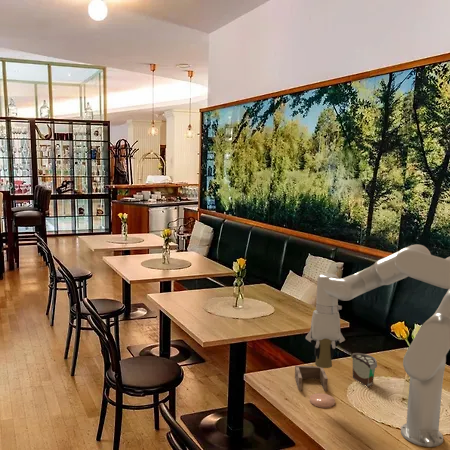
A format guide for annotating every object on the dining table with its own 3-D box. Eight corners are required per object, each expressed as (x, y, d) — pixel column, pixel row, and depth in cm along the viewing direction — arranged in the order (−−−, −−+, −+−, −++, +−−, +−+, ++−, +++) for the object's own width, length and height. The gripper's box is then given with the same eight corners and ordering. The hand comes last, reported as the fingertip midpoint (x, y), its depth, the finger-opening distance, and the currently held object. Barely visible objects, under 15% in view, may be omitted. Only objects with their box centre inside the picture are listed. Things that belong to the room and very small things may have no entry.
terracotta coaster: (337, 408, 170) (337, 405, 170) (311, 407, 170) (311, 404, 170) (331, 396, 179) (332, 393, 179) (307, 395, 179) (308, 392, 179)
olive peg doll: (335, 367, 171) (336, 337, 169) (319, 368, 169) (321, 338, 168) (327, 360, 176) (328, 331, 175) (312, 362, 175) (313, 333, 173)
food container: (382, 386, 187) (384, 362, 186) (369, 389, 185) (371, 364, 184) (362, 374, 199) (364, 351, 197) (350, 376, 196) (351, 352, 195)
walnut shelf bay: (327, 391, 183) (327, 378, 182) (298, 390, 183) (299, 377, 182) (321, 378, 194) (322, 366, 193) (294, 377, 194) (295, 365, 193)
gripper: (347, 306, 174) (344, 354, 176) (301, 304, 174) (299, 352, 176) (352, 312, 166) (349, 362, 168) (304, 311, 166) (302, 361, 169)
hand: (324, 357), depth 172 cm, fingers closed on olive peg doll, 4 cm apart
